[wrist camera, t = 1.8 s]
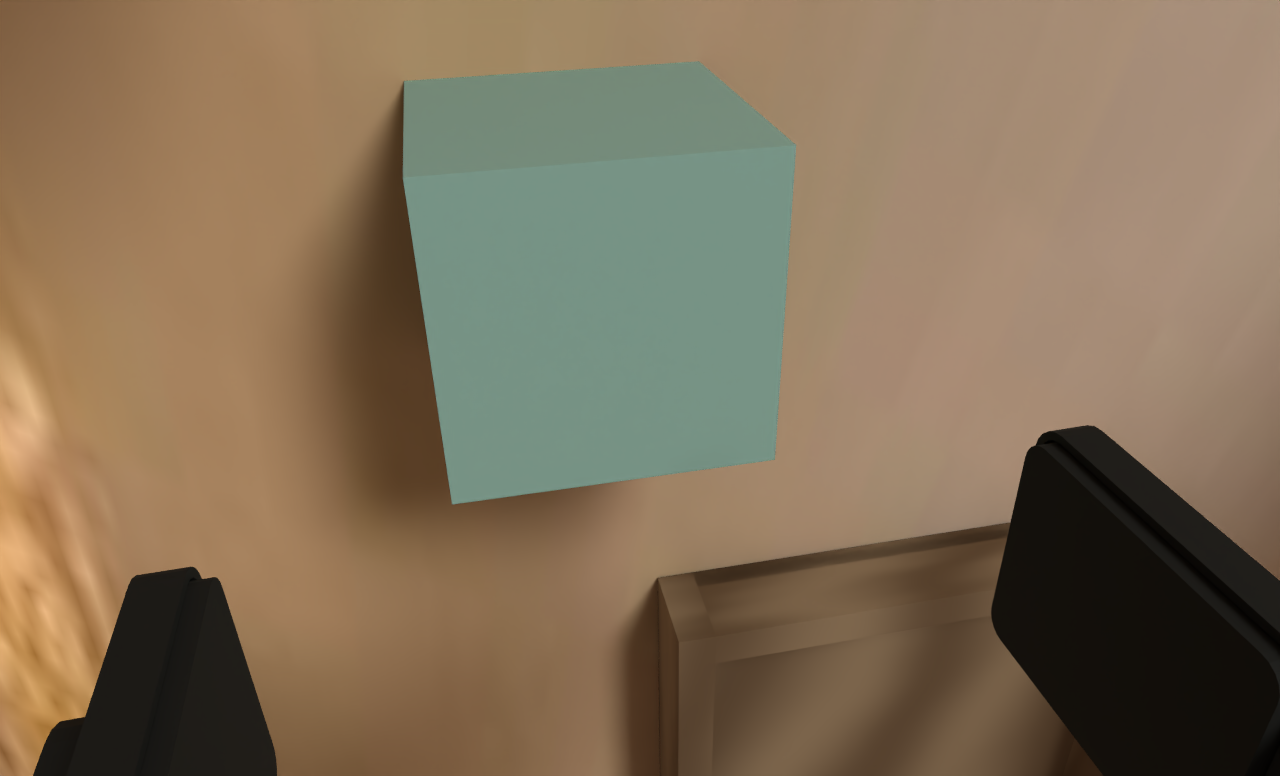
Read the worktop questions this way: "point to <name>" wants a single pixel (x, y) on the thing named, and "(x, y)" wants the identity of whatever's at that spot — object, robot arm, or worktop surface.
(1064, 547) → the robot arm
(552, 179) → the teal cube
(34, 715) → the worktop surface
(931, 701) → the walnut tray
